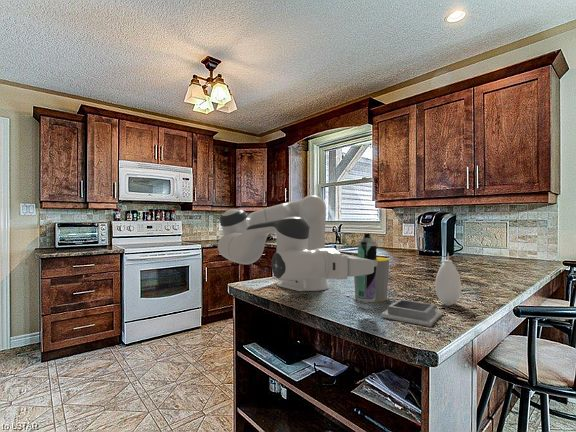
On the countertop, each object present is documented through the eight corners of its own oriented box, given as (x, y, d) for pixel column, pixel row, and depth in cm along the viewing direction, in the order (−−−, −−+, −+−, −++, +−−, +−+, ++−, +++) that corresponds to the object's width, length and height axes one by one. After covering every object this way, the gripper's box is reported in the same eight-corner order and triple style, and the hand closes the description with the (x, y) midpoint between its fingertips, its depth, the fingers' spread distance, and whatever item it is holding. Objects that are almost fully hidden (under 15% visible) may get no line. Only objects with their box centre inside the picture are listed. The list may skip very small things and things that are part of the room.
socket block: (381, 317, 98) (381, 306, 98) (396, 307, 109) (396, 297, 109) (430, 326, 90) (430, 315, 90) (442, 314, 101) (442, 304, 101)
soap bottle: (352, 293, 130) (352, 239, 130) (386, 294, 128) (387, 240, 128) (353, 301, 117) (353, 242, 117) (391, 303, 115) (391, 242, 115)
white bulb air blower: (446, 300, 118) (446, 251, 118) (465, 306, 111) (466, 253, 111) (430, 303, 115) (430, 251, 115) (450, 308, 108) (450, 254, 108)
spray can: (375, 302, 96) (377, 234, 96) (356, 301, 97) (358, 233, 97) (374, 298, 101) (376, 233, 101) (356, 296, 102) (358, 232, 102)
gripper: (313, 268, 105) (351, 266, 109) (345, 280, 85) (390, 277, 90) (313, 249, 105) (351, 247, 109) (345, 256, 85) (390, 254, 90)
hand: (369, 261), depth 99 cm, fingers closed on spray can, 5 cm apart
